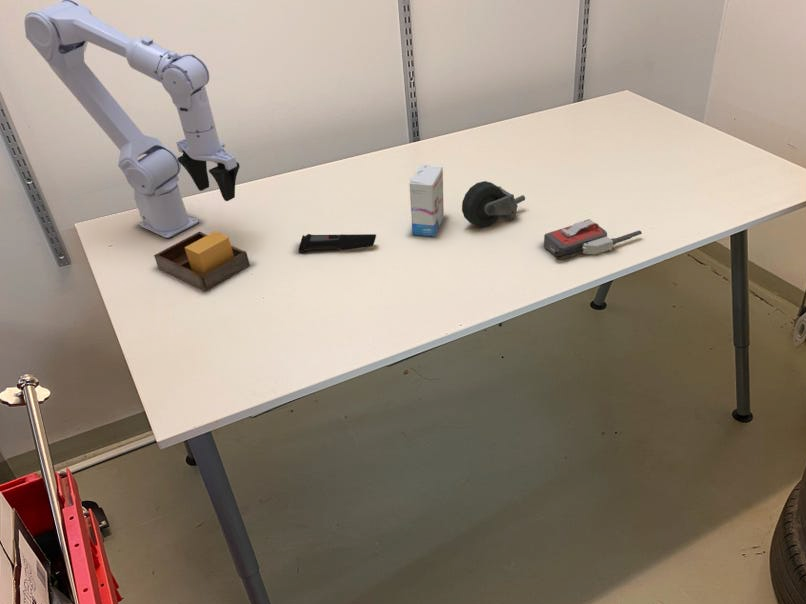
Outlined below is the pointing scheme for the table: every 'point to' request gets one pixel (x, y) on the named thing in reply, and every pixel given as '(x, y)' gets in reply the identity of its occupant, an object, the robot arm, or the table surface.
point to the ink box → (426, 200)
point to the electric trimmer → (336, 241)
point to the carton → (209, 252)
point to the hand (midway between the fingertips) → (216, 193)
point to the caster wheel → (488, 204)
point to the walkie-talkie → (581, 240)
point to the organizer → (179, 266)
